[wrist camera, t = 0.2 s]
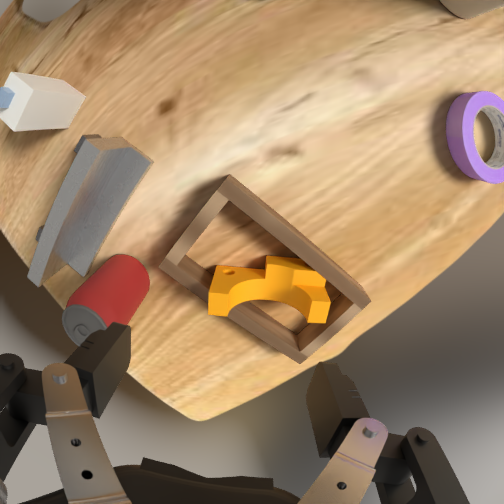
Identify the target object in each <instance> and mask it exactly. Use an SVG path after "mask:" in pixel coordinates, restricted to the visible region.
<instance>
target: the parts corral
mask: <svg viewBox="0 0 504 504" xmlns="http://www.w3.org/2000/svg"><path fill="white" fill-rule="evenodd" d="M228 200H229V201H231V202H232V203H233V204H234V205H236V206H237V207H238V208H239V209H241V210H242V211H243V212H244V213H246V214H247V215H248V216H249V217H251V218H252V219H253V220H254V221H256V222H257V223H258V224H259V225H261V226H262V227H263V228H264V229H266V230H267V231H268V232H269V233H270V234H272V235H273V236H274V237H275V238H277V239H278V240H279V241H280V242H282V243H283V244H284V245H285V246H286V247H288V248H289V249H290V250H291V251H292V252H294V253H295V254H296V255H297V256H299V257H300V258H301V259H302V260H303V261H305V262H306V263H307V264H308V265H309V266H311V267H312V268H313V269H314V270H315V271H317V272H318V273H319V274H320V275H321V276H323V277H324V278H325V279H326V280H327V281H329V282H330V283H331V284H332V285H333V286H335V287H336V288H337V289H338V290H339V291H340V292H342V294H341V295H340V296H339V297H338V298H337V299H336V300H335V301H334V302H333V303H331V304H330V308H329V312H328V316H327V319H326V323H310V324H309V325H308V326H307V327H306V328H304V329H303V330H302V331H301V332H300V333H299V334H298V335H296V334H295V333H293V332H292V331H290V330H289V329H287V328H286V327H285V326H283V325H282V324H280V323H279V322H277V321H276V320H274V319H273V318H272V317H270V316H269V315H267V314H266V313H265V312H263V311H262V310H260V309H259V308H257V307H256V306H255V305H253V304H252V303H250V302H249V301H245V302H242V303H239V304H237V305H236V306H234V307H233V308H232V309H231V310H230V311H229V313H228V316H227V317H228V318H230V319H231V320H233V321H234V322H236V323H237V324H238V325H240V326H241V327H243V328H244V329H246V330H247V331H249V332H250V333H252V334H253V335H255V336H256V337H258V338H260V339H261V340H263V341H264V342H266V343H267V344H269V345H270V346H272V347H273V348H275V349H277V350H278V351H280V352H281V353H283V354H284V355H286V356H288V357H289V358H291V359H292V360H294V361H296V362H297V363H299V364H301V363H302V362H303V361H305V360H306V359H307V358H308V357H309V356H311V355H312V354H313V353H314V352H315V351H317V350H318V349H319V348H320V347H321V346H323V345H324V344H325V343H326V342H327V341H328V340H329V339H331V338H332V337H333V336H334V335H335V334H336V333H337V332H339V331H340V330H341V329H342V328H343V327H344V326H345V325H346V324H347V323H349V322H350V321H351V320H352V319H353V318H354V317H355V316H356V315H357V314H358V313H359V312H360V311H361V310H363V309H364V308H365V307H366V306H367V305H368V304H369V303H370V302H371V300H370V298H369V297H368V295H367V294H366V292H365V290H364V289H363V287H362V286H361V285H360V284H358V283H357V282H356V281H355V280H354V279H353V278H352V277H351V276H350V275H348V274H347V273H346V272H345V271H344V270H343V269H342V268H341V267H340V266H338V265H337V264H336V263H335V262H334V261H333V260H332V259H331V258H329V257H328V256H327V255H326V254H325V253H324V252H323V251H321V250H320V249H319V248H318V247H317V246H316V245H314V244H313V243H312V242H311V241H310V240H309V239H308V238H306V237H305V236H304V235H303V234H302V233H301V232H299V231H298V230H297V229H296V228H295V227H293V226H292V225H291V224H290V223H289V222H288V221H286V220H285V219H284V218H283V217H282V216H280V215H279V214H278V213H277V212H276V211H274V210H273V209H272V208H271V207H270V206H268V205H267V204H266V203H265V202H263V201H262V200H261V199H260V198H259V197H257V196H256V195H255V194H254V193H252V192H251V191H250V190H249V189H248V188H246V187H245V186H244V185H243V184H241V183H240V182H239V181H238V180H236V179H235V178H234V177H233V176H231V175H230V174H229V176H228V177H227V178H226V179H225V181H224V182H223V183H222V184H221V186H220V187H219V188H218V189H217V190H216V192H215V193H214V194H213V195H212V197H211V198H210V199H209V201H208V202H207V203H206V204H205V206H204V207H203V208H202V209H201V211H200V212H199V213H198V215H197V216H196V217H195V218H194V220H193V221H192V222H191V224H190V225H189V226H188V228H187V229H186V230H185V231H184V233H183V234H182V235H181V237H180V238H179V239H178V241H177V242H176V243H175V245H174V246H173V248H172V249H171V250H170V252H169V253H168V254H167V256H166V257H165V258H164V260H163V261H162V263H161V264H160V265H159V268H160V269H161V270H163V271H164V272H165V273H167V274H168V275H169V276H171V277H172V278H173V279H175V280H176V281H177V282H179V283H180V284H182V285H183V286H184V287H186V288H187V289H188V290H190V291H191V292H193V293H194V294H195V295H197V296H198V297H200V298H201V299H202V300H204V301H205V302H207V303H208V299H209V290H210V286H211V283H212V280H213V275H212V274H211V273H209V272H208V271H207V270H205V269H204V268H203V267H201V266H200V265H198V264H197V263H196V262H194V261H193V260H192V259H191V258H189V257H188V256H187V255H185V254H186V253H187V252H188V250H189V249H190V248H191V247H192V245H193V244H194V243H195V241H196V240H197V239H198V238H199V236H200V235H201V234H202V233H203V231H204V230H205V229H206V228H207V226H208V225H209V224H210V223H211V221H212V220H213V219H214V218H215V216H216V215H217V214H218V213H219V211H220V210H221V209H222V208H223V207H224V205H225V204H226V203H227V202H228Z"/></svg>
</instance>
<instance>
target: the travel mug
mask: <svg viewBox="0 0 504 504" xmlns="http://www.w3.org/2000/svg"><path fill="white" fill-rule="evenodd" d="M440 1H441V3H442V4H443V5H444V6H445V7H446V8H447V9H448V10H449V11H451V12H452V13H453V14H455V15H457V16H458V17H461V18H464V19H471V18H474V17H476V16H479V15H481V14H484V13H486V12H489V11H492V10H494V9H497V8H500V7H503V6H504V0H440Z"/></svg>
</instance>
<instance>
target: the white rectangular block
mask: <svg viewBox="0 0 504 504" xmlns="http://www.w3.org/2000/svg"><path fill="white" fill-rule="evenodd" d="M85 98H86V96H84V95H83V94H82V93H80V92H79V91H78V90H76V89H75V88H73V87H72V86H71V85H69V84H68V83H66V82H65V81H64V80H60V79H55V78H49V77H44V76H38V75H32V74H25V73H18V72H11V73H10V75H9V77H8V79H7V81H6V83H5V85H4V87H0V118H1V119H2V120H3V121H4V122H5V123H6V124H7V125H8V126H9V127H10V128H11V129H12V130H13V131H14V132H16V131H27V130H42V129H62V128H68V127H69V126H70V124H71V122H72V120H73V118H74V117H75V115H76V113H77V112H78V110H79V108H80V107H81V105H82V103H83V102H84V100H85Z"/></svg>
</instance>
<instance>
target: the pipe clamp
mask: <svg viewBox="0 0 504 504" xmlns="http://www.w3.org/2000/svg"><path fill="white" fill-rule="evenodd" d="M325 283H326V279H325V278H324V277H323V276H321V275H320V274H319V273H318V272H317V271H315V270H314V269H313V268H312V267H311V266H309V265H308V264H307V263H306V262H305V261H303V260H302V259H301V258H289V257H278V256H267V255H266V264H265V269H253V268H242V267H231V266H220V265H217V267H216V270H215V273H214V276H213V280H212V283H211V286H210V290H209V299H208V315H217V316H228V313H229V311H230V310H231V309H232V308H233V307H234V306H236V305H237V304H239V303H242V302H245V301H249V300H258V299H264V300H274V301H278V302H282V303H285V304H288V305H290V306H292V307H294V308H296V309H297V310H298V311H300V312H301V313H302V314H303V315H304V317H305V318H306V320H307V323H326V319H327V316H328V312H329V308H330V304H331V301H330V299H329V296H328V294H327V291H326V289H325Z"/></svg>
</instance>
